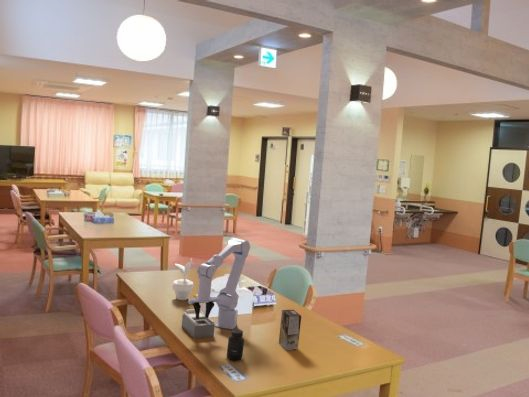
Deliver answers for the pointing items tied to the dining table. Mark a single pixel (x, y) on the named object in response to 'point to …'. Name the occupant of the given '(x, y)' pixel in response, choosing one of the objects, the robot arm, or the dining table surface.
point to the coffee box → (289, 329)
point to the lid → (192, 314)
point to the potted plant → (183, 283)
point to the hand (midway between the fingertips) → (202, 317)
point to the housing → (198, 326)
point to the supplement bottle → (235, 345)
